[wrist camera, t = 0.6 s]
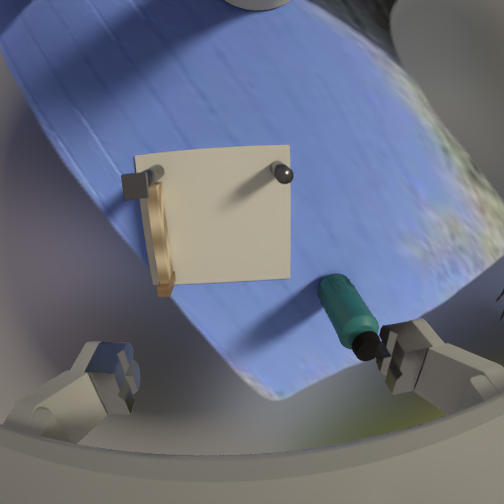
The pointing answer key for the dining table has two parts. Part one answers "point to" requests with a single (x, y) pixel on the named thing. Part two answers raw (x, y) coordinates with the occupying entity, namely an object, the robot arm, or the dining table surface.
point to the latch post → (281, 172)
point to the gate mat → (222, 214)
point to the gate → (161, 240)
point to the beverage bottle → (349, 316)
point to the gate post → (140, 182)
